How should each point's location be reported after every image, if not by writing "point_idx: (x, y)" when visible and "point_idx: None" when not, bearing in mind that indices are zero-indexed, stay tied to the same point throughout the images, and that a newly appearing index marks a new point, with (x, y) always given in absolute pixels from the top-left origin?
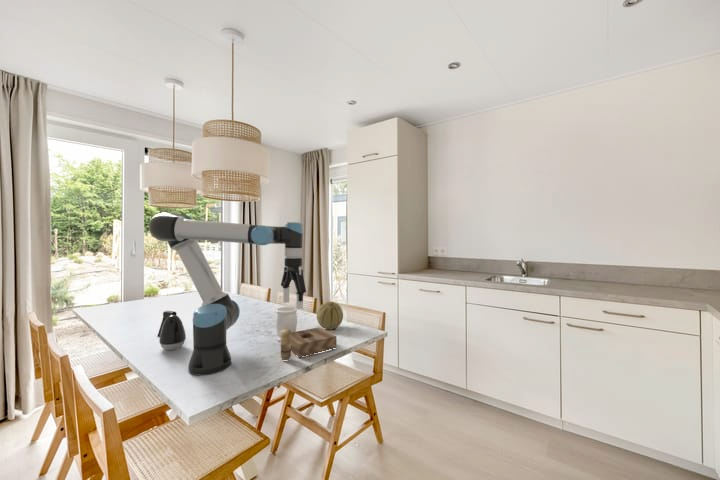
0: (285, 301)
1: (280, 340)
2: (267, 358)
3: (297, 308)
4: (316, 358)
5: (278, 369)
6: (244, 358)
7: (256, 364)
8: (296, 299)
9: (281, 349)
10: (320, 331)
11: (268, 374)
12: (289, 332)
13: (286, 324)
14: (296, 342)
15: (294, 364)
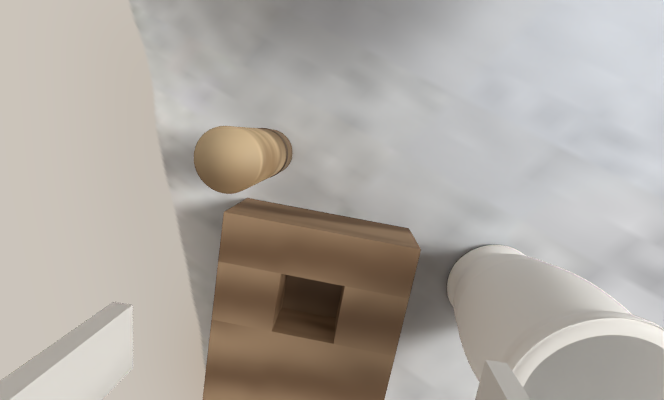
0: (486, 393)
1: (483, 248)
2: (341, 96)
3: (107, 311)
4: (202, 248)
5: (207, 75)
6: (420, 12)
7: (315, 26)
8: (22, 386)
9: (260, 128)
10: (314, 394)
11: (190, 19)
12: (199, 169)
13: (478, 303)
14: (257, 217)
15: None
